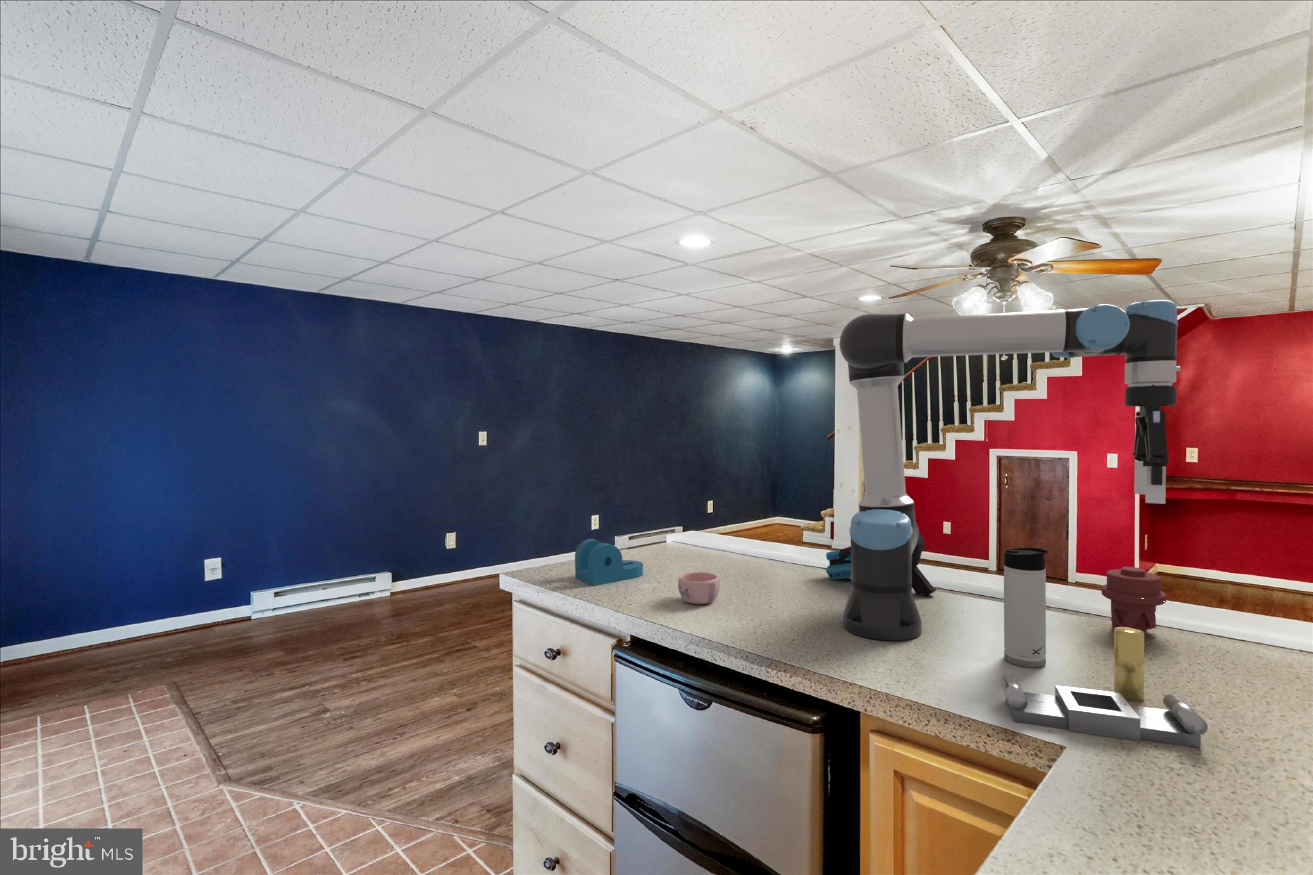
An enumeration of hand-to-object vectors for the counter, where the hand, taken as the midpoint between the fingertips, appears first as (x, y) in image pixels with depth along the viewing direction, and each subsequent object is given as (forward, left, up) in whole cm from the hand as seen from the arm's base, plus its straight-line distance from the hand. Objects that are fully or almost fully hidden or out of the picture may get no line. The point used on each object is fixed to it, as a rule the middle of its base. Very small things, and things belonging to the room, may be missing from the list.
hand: (1148, 498), depth 116 cm
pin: (-11, -29, -27) cm, 41 cm away
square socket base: (-18, -40, -27) cm, 52 cm away
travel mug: (-23, -19, -27) cm, 40 cm away
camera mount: (-118, +12, -27) cm, 122 cm away
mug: (-89, -2, -27) cm, 93 cm away
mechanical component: (-1, +4, -27) cm, 27 cm away
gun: (-49, +23, -27) cm, 61 cm away
